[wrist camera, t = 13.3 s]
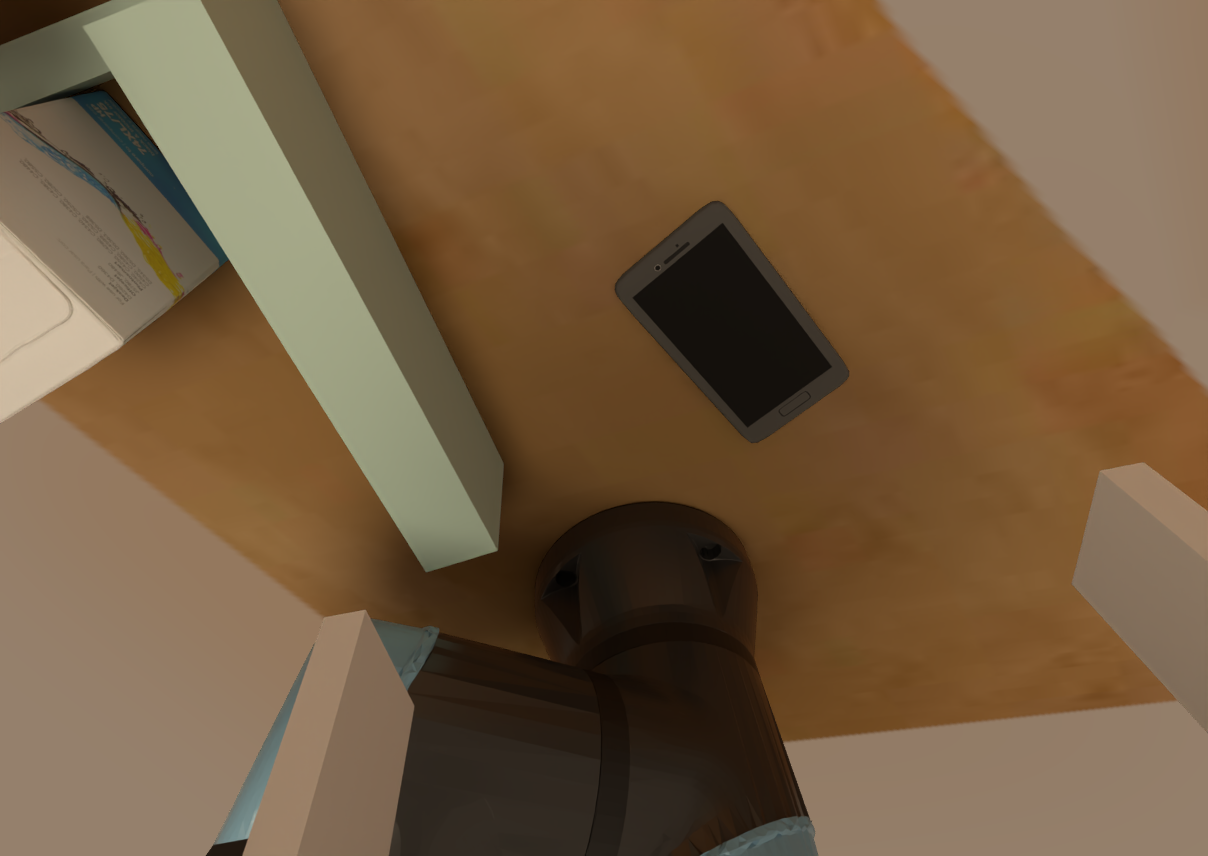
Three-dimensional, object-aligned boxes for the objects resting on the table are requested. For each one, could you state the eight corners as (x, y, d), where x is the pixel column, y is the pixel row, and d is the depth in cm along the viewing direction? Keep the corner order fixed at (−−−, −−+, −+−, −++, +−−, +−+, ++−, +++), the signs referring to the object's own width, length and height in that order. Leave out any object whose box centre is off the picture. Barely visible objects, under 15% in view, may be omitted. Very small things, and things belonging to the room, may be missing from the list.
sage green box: (503, 463, 43) (497, 550, 36) (303, 526, 44) (261, 622, 38) (257, -42, 29) (171, -54, 22) (-26, 72, 30) (-189, 94, 24)
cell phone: (750, 442, 44) (753, 449, 43) (607, 284, 38) (608, 289, 37) (850, 371, 42) (855, 376, 41) (716, 191, 36) (720, 195, 35)
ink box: (105, 84, 31) (-99, 125, 21) (245, 249, 35) (131, 348, 25) (-32, 183, 33) (-281, 265, 23) (117, 329, 37) (-37, 452, 27)
